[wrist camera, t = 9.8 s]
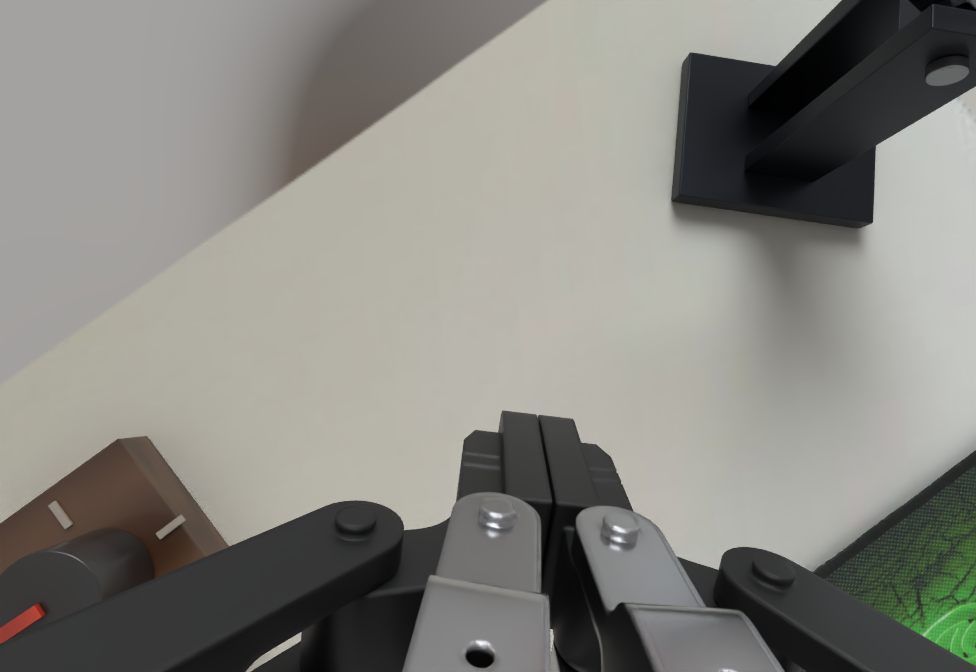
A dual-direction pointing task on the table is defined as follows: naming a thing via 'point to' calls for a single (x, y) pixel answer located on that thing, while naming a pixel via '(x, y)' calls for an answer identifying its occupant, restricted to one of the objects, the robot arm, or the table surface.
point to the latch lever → (915, 3)
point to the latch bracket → (817, 112)
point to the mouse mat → (921, 563)
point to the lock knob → (70, 578)
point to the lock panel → (116, 509)
